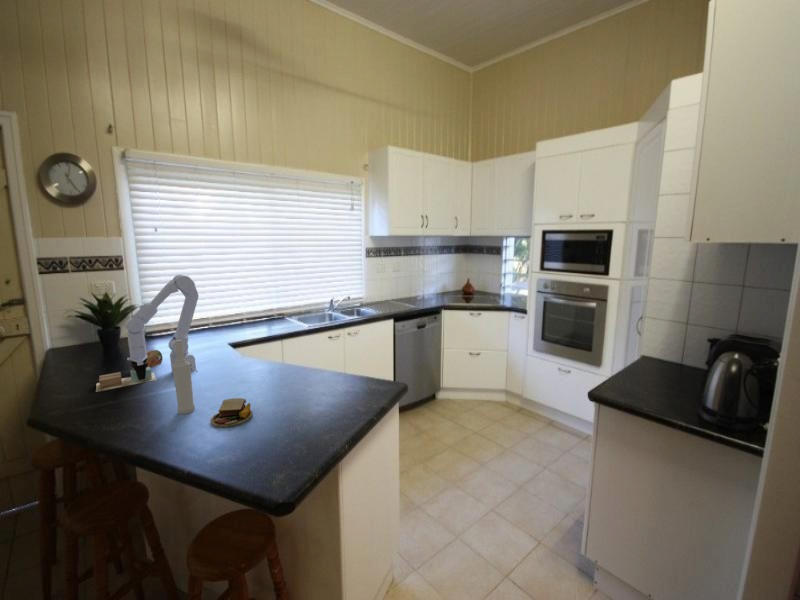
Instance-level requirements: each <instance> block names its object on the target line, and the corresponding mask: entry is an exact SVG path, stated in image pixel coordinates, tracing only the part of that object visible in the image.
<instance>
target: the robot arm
mask: <svg viewBox="0 0 800 600" xmlns="http://www.w3.org/2000/svg"><path fill="white" fill-rule="evenodd" d="M178 292H181V294H182V295H183V296H184V297H185V298H184V300H183V305H182V307H181V308H182V309H181V311H180V316H179V318H178V319H179V320H178V323H177V327H176V331H175V332H174V334H173V336H172V338H171V339H170V340H169V342H168V348H169V349H170V350H171V351H170V353H169V358H170V359H169V360H170V366H171V373H172V374H173V367H172V366H173V365H174V364H175V363H176V361H177V353H176V345H175V341H176V340H182V344H183V354H184V359H185V361H187V362H189V363H190V369H191V373H192V372H194V371H195V372H198V371H199V370H198V369H197V368H196V367H197V366H196V358H195V356H194V355H193V354H191V353H190V352H189V344H188V343H189V332H190V329H191V325H192V321H193V317H194V314H195V311H196V307H197V303H198V300H199V297H200V295H199V293H198V289H197V287H196V284H195V282H194V280H192V278H191V277H190V276H188V275H183V274H177V275H175V276H174V277H173V278H172V279H170V280H169V281H168V282H167V283H166V284H165V285H164V286H163V288H162V289H161V290H160V291H159V292H158V293H157V295H155V296H154V297H153V299H151V302H147V303H143V304H141V305H140V306H139V309H138V310H137V311H136V312H135V314H131V316H130V317H131V318H129V319H128V320H127V321H126V322H125V325H124V327H125V328H126V330H127V342H128V343H127V344H128V349H129V356H130V357H127V358H126V359H127V361H130V364H131V363H132V367H133V368H134V370H135V371H136V374H137V377H138V379H139V380H142V379H145V375H146V368H147V365H148V362H147V363H146V360H147V357H148V356H147V353H146V352H147V347H146V346H147V345H146V339H145V334H144V329H145V325H146V324H148V323H149V321H150V320H152V318H154V316H155V315H156V314H157V313H158V307H159V306H160V305H161V304H162V303H163V302H164V301H165V300H166V299H167V298H168V297H169V296H170V295H171V294H174V293H178ZM132 367H131V368H132Z"/></svg>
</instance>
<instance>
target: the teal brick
mask: <svg viewBox="0 0 800 600" xmlns="http://www.w3.org/2000/svg"><path fill="white" fill-rule="evenodd" d="M129 373H130V377H131V380H132V382H137V381H142V380H147V379H152V375H151V373H152V369H151V368H150V367H147V368H146V375H145V379H142V380H139V379H138V377H137V374H136V371H135V370H132V369H130V370H129Z"/></svg>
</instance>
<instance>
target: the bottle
mask: <svg viewBox="0 0 800 600" xmlns="http://www.w3.org/2000/svg"><path fill="white" fill-rule="evenodd" d="M175 345H176V353H177V361H176V363H175V364H174V365H173V366H172V367H173V373H172V374H173V379H174V386H175V394H176V401H177V409H176V410H177V412H178V414H179V415H187V414H190V413H193V412H194V411H195V409H196V407H195V403H194V396H193V394H194V392H193V385H192V383H193V382H192V372H191V369H190V363H189V362H187V361H185V359H184V354H183V344H182V340H176V341H175Z"/></svg>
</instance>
